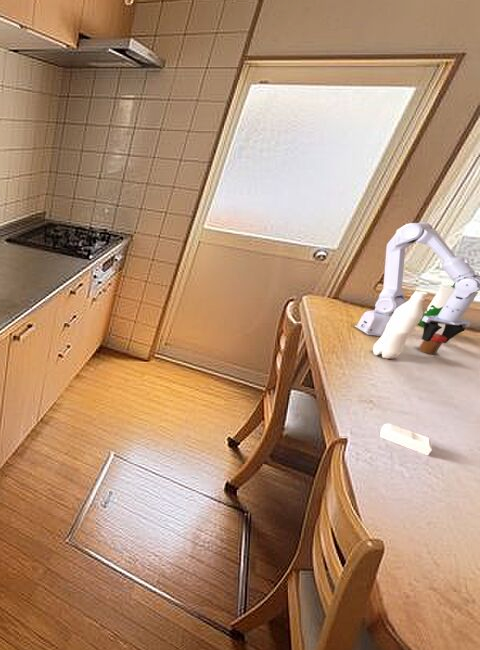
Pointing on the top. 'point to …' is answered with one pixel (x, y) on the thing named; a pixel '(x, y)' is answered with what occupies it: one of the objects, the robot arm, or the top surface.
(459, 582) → the top surface
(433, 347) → the jar
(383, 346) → the water bottle
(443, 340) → the lid
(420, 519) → the top surface
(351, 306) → the top surface
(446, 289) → the milk carton
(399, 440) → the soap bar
